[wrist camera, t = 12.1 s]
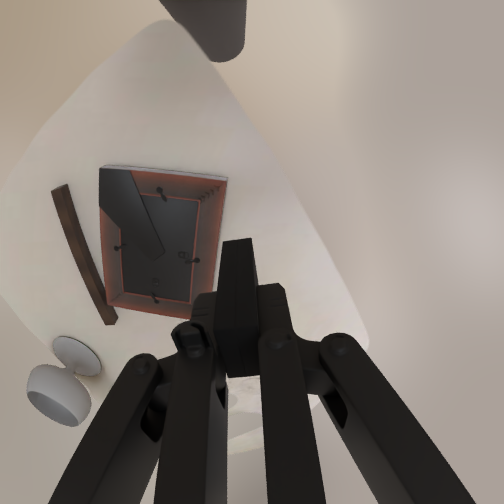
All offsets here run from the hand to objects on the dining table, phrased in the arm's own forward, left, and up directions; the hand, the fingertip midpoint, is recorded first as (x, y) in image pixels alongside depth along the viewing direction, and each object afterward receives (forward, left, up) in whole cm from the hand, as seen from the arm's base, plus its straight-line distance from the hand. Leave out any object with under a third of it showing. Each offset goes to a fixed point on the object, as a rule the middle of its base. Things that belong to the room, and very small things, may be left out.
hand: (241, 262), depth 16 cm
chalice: (+30, -41, -22) cm, 55 cm away
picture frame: (+8, -13, -22) cm, 27 cm away
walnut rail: (+8, -26, -22) cm, 35 cm away
